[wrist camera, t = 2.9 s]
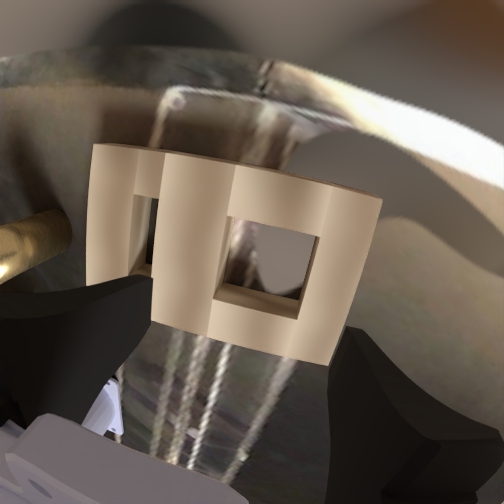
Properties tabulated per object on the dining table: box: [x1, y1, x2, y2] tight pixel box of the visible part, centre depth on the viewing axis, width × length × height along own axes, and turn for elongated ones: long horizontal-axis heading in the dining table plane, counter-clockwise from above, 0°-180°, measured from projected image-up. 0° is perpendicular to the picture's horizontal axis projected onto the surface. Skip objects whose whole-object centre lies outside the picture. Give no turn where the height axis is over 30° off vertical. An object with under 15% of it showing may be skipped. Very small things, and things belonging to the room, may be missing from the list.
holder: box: [86, 143, 383, 366], centre depth 18 cm, size 16×10×2 cm, turn 79°
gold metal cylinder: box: [0, 209, 72, 284], centre depth 18 cm, size 3×3×8 cm
